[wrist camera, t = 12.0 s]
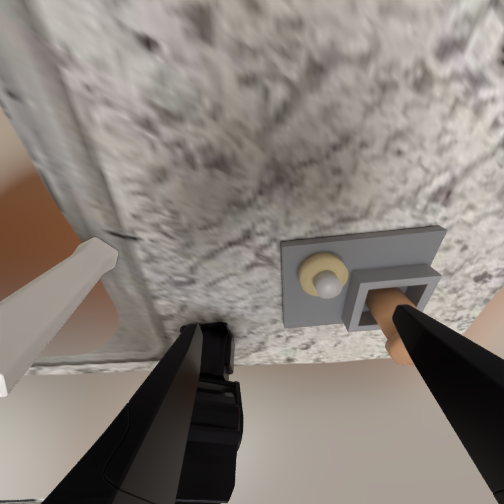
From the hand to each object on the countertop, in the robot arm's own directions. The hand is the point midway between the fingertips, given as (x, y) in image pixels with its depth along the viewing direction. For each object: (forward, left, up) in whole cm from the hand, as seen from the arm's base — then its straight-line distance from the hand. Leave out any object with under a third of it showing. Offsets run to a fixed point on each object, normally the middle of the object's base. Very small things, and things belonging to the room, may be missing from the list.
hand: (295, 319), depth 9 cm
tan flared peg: (+12, -11, -11) cm, 20 cm away
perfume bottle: (-18, -2, -12) cm, 22 cm away
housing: (+9, -9, -12) cm, 18 cm away
